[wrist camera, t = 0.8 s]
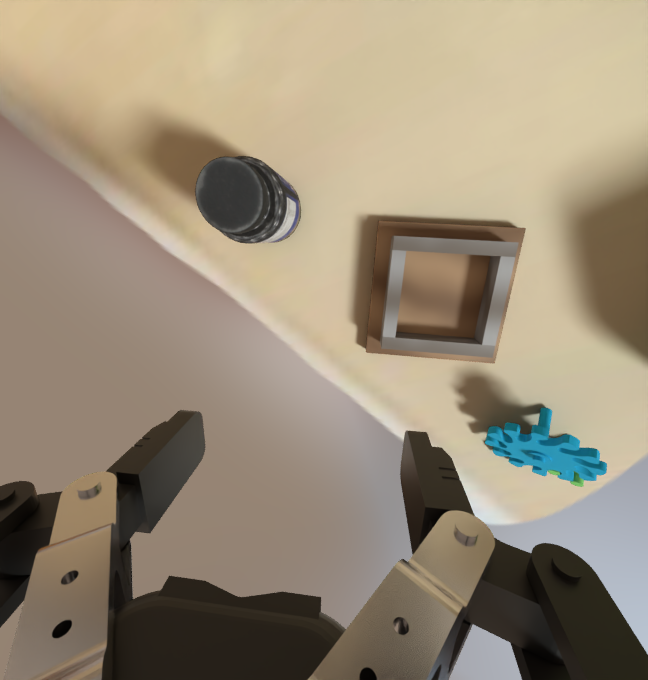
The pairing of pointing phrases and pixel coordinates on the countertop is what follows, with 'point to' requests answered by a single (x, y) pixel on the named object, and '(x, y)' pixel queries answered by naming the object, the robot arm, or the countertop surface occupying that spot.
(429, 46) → the countertop surface
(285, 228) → the pill bottle
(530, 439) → the gear
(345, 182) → the countertop surface
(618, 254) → the countertop surface
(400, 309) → the framed wooden base
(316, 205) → the countertop surface
